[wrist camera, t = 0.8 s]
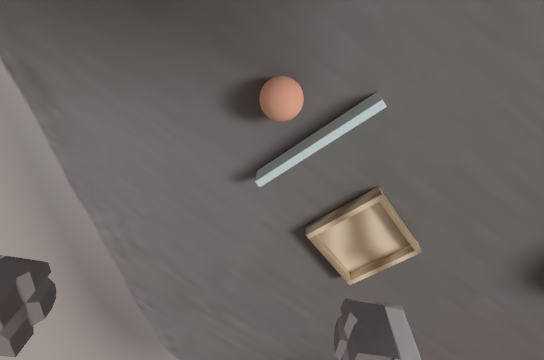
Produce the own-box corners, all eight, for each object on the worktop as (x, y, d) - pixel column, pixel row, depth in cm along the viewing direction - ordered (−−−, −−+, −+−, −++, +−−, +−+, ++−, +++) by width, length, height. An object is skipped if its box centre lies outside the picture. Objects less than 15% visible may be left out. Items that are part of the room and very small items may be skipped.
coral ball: (286, 62, 38) (285, 72, 34) (311, 97, 40) (313, 110, 36) (252, 88, 40) (247, 100, 36) (278, 120, 42) (276, 136, 38)
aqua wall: (376, 92, 39) (382, 99, 37) (380, 98, 40) (386, 106, 37) (257, 170, 46) (255, 181, 43) (261, 175, 46) (259, 187, 43)
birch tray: (378, 186, 46) (381, 194, 44) (417, 242, 50) (422, 252, 48) (305, 226, 50) (305, 235, 48) (347, 275, 54) (349, 285, 52)
